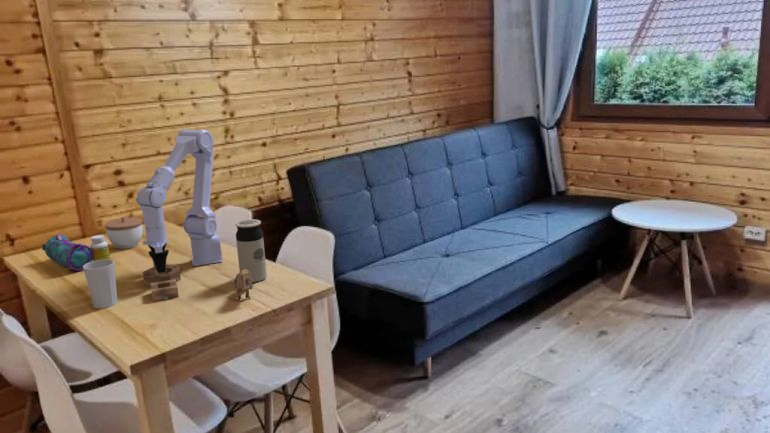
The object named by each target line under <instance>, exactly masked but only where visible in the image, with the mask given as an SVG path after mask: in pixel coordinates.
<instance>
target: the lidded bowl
mask: <svg viewBox="0 0 770 433" xmlns="http://www.w3.org/2000/svg"><path fill="white" fill-rule="evenodd" d="M104 226H105V227H104V228H105V232H106V235H107V238H108V240H109V242H110V243H111V244H112V245H113V246H114V247H116V248H117V249H119V250H120V249H121V250H124V249H125V248H127V249H131V248H135V247H137V246H138V244H140V242H141V240H142V238H143V234H144V228H143V219H141V218H140V217H139V218H138V217H125V216H121V217H120V218H118V219H117V218H116V219H113V220H109V221H107V222H106V223H105V224H104ZM125 250H126V249H125Z"/></svg>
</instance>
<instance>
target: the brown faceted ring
mask: <svg viewBox="0 0 770 433" xmlns="http://www.w3.org/2000/svg"><path fill="white" fill-rule="evenodd" d="M166 269H167V274H162V275H155V272H154V266H152V267H151V268H148V269H146V270H143V271H142V274H143V282H144V283H143V284H144V286H145V287H151V283H156V282H162V281H168V280H174V279H176V283H177V282H179V281H182V277H181V271H180V268H179V265H174V264H173V265H172V264H166Z"/></svg>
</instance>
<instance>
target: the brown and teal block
mask: <svg viewBox="0 0 770 433" xmlns="http://www.w3.org/2000/svg"><path fill="white" fill-rule="evenodd" d="M154 251H155V250H154ZM152 264H153V267H154V272H155V275H162V274H167V269H166V271H165V272H163V273H158V272H157V269H156V266H155V263H154V261H153V260H152Z"/></svg>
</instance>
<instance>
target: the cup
mask: <svg viewBox="0 0 770 433" xmlns="http://www.w3.org/2000/svg"><path fill="white" fill-rule="evenodd" d="M115 268H116V266H115V261H114V260H113V259H111V258H110V259H102V260H96V261H93V260H92V262H89V263H86V264H85V265H83V269H84V270H83V273H84V276H85V279H86V283H87V286H88V290H89V294H90V297H91V301H92V307H93V308H94V309H107V308H110V307H114V306H115V305H117V303H118V302H119V301H118V295H117V282H116V271H115V270H116V269H115Z"/></svg>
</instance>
